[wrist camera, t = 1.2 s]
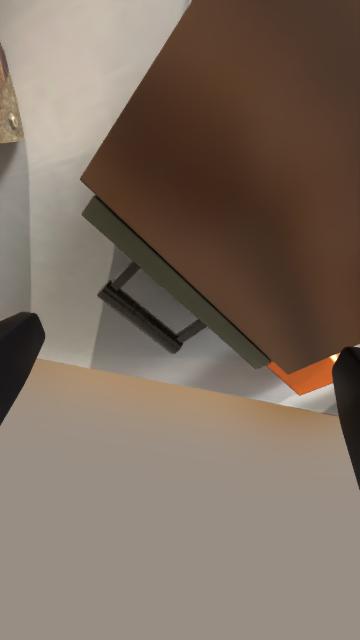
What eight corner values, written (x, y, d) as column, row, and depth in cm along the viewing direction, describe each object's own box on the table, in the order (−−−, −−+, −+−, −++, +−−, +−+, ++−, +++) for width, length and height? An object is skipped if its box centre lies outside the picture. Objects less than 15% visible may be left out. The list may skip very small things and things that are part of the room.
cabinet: (269, 296, 22) (287, 375, 16) (136, 152, 17) (78, 179, 10) (520, 136, 14) (783, 160, 7) (414, -233, 9) (975, -1243, 2)
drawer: (202, 337, 25) (196, 398, 20) (83, 236, 20) (33, 281, 15) (463, 172, 15) (596, 206, 9) (348, -116, 10) (488, -374, 5)
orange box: (302, 312, 23) (311, 335, 20) (341, 357, 25) (353, 382, 23) (256, 337, 25) (259, 360, 23) (296, 376, 28) (303, 400, 25)
